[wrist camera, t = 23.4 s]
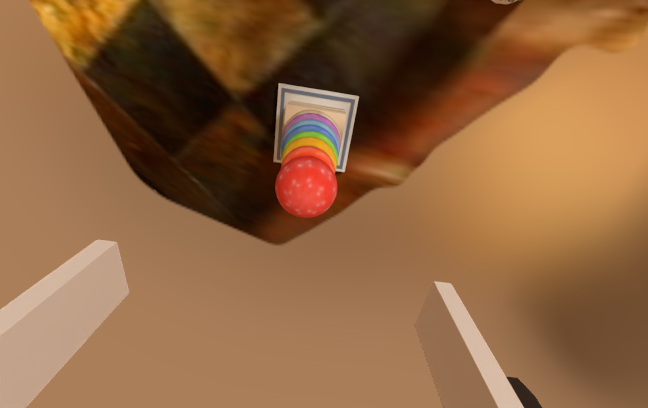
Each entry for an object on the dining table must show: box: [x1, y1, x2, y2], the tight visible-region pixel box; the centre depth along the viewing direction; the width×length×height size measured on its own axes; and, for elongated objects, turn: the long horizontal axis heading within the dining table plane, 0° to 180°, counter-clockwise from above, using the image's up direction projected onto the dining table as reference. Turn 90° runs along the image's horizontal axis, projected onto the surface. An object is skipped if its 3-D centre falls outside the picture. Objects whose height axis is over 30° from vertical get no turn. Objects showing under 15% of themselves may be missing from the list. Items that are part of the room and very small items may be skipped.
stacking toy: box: [275, 110, 341, 218], centre depth 28 cm, size 8×8×19 cm
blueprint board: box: [274, 83, 359, 172], centre depth 42 cm, size 12×12×1 cm
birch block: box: [280, 100, 347, 163], centre depth 39 cm, size 8×8×6 cm
